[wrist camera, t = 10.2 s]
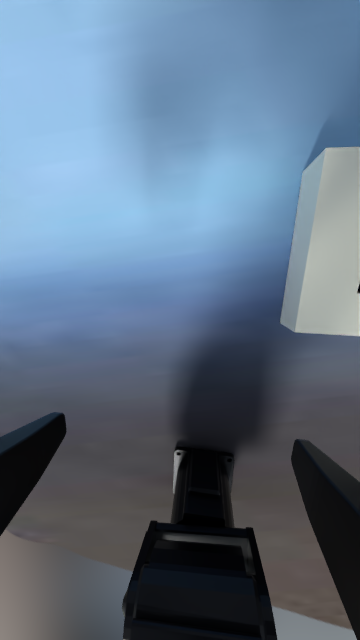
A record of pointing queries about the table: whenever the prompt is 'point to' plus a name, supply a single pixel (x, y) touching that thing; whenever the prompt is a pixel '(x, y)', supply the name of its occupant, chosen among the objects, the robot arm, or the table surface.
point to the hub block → (326, 248)
